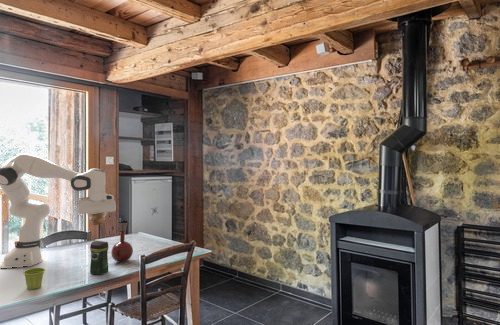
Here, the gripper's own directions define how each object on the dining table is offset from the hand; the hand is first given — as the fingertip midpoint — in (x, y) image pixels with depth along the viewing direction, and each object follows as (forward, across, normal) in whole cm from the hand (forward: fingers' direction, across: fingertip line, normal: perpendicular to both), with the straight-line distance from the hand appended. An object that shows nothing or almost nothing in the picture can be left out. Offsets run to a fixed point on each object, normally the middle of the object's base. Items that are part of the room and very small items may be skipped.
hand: (97, 220), depth 192 cm
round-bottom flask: (+32, +17, +15) cm, 39 cm away
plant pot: (+31, -31, -6) cm, 44 cm away
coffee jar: (+31, +1, 0) cm, 31 cm away
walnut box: (+2, 0, 0) cm, 2 cm away
